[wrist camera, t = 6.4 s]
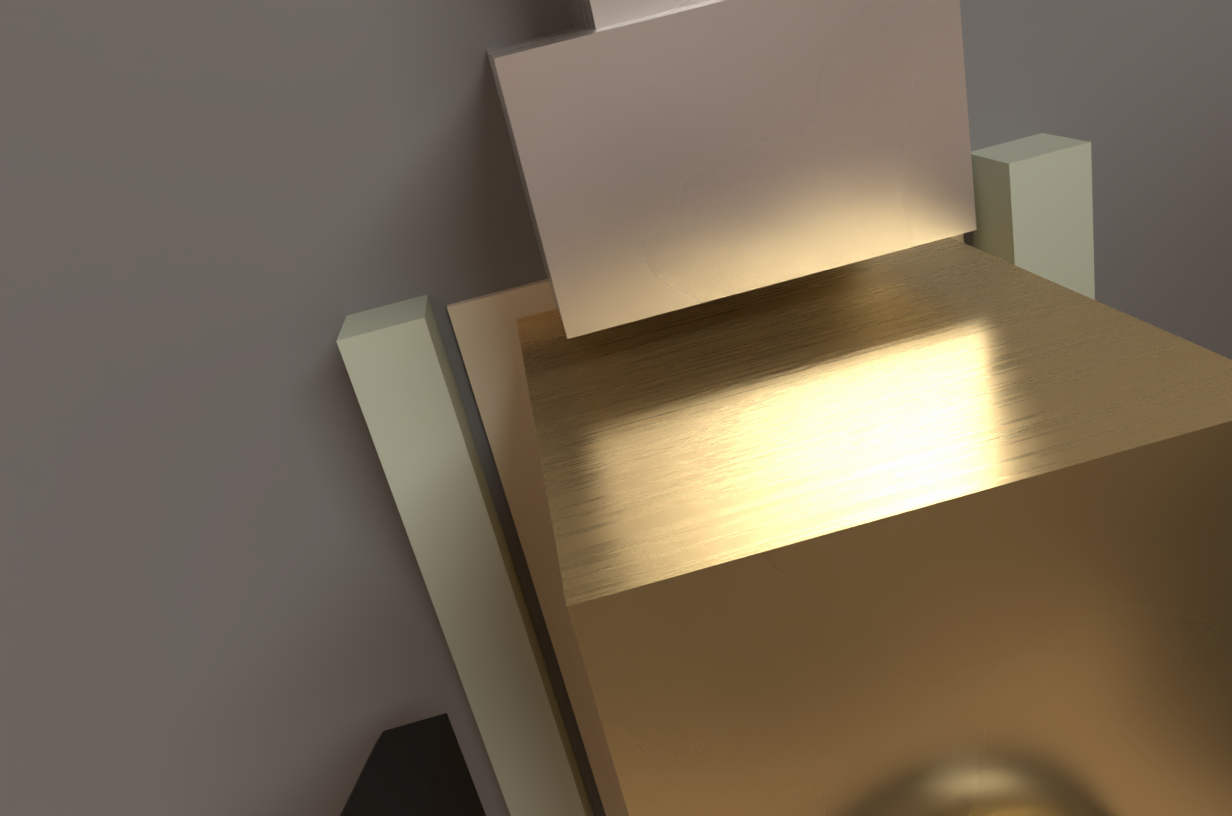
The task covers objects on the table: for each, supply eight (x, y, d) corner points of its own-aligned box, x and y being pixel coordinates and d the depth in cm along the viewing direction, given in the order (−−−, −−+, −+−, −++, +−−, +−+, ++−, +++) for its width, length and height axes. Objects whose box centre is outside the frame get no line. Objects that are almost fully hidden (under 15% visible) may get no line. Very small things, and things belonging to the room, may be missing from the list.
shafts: (951, -1003, 6) (1208, -1540, 4) (1069, 1116, 16) (1166, 1291, 14) (246, -860, 6) (123, -1350, 4) (792, 1203, 16) (845, 1396, 13)
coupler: (958, 744, 12) (1317, 1263, 7) (660, 832, 12) (806, 1429, 7) (904, 216, 9) (1426, 442, 4) (516, 320, 9) (579, 682, 4)
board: (1400, -941, 8) (1731, -1284, 6) (1264, 952, 17) (1374, 1080, 15) (-817, -480, 7) (-1351, -692, 5) (305, 1250, 17) (282, 1429, 14)
